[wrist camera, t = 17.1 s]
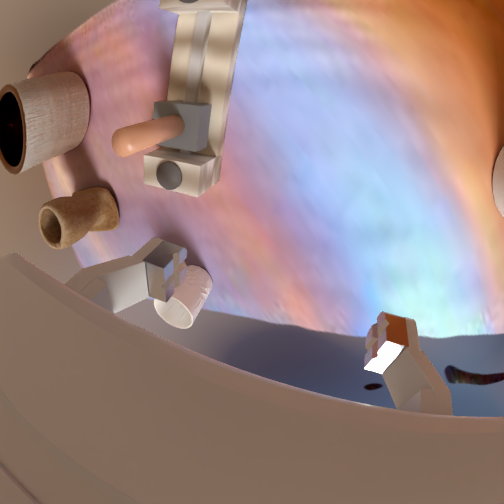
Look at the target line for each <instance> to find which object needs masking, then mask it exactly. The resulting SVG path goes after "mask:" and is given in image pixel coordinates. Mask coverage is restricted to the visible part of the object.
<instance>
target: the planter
mask: <svg viewBox="0 0 504 504" xmlns="http://www.w3.org/2000/svg"><path fill="white" fill-rule="evenodd" d="M89 118H90V100H89V95H88V91H87V88H86V86H85V84H84V82H83V80H82V79H81V77H80V76H79V75H77V74H76V73H74V72H70V71H64V72H58V73H52V74H47V75H43V76H38V77H34V78H30V79H25V80H22V81H18V82H14V83H10V84H7V85H5V86H4V87H3V88H2V89H1V90H0V160H1V162H2V164H3V165H4V167H5V169H6V170H7V171H8V172H9V173H11V174H13V175H16V174H19V173H21V172H23V171H25V170H27V169H29V168H31V167H33V166H35V165H37V164H39V163H42V162H44V161H46V160H48V159H51V158H53V157H56V156H58V155H61V154H63V153H65V152H68V151H70V150H72V149H74V148H75V147H77V146H78V145H79V144H80V143H81V141H82V140H83V138H84V136H85V134H86V131H87V128H88V124H89Z"/></svg>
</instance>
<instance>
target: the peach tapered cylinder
mask: <svg viewBox="0 0 504 504" xmlns="http://www.w3.org/2000/svg"><path fill="white" fill-rule="evenodd" d="M211 108H212V104H208V103H204V102H203V103H194V102H184V101H183V100H174V101H172V100H165V101H158V102H154V115H153V120H149V121H146V122H142V123H138V124H134V125H131V126H127V127H124V128H121V129H118V130H116V131H115V132H114V134H113V136H112V147H113V149H114V151H115V153H116V154H117V155H119V156H121V157H126V156H129V155H131V154H133V153H136V152H138V151H141V150H143V149H146V148H148V147H151V146H153V145H160V146H166V147H172V148H178V149H183V150H189V151H194V152H197V151H199V150H202V149H204V148H206V147H207V141H208V132H209V124H210V116H211Z"/></svg>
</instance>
